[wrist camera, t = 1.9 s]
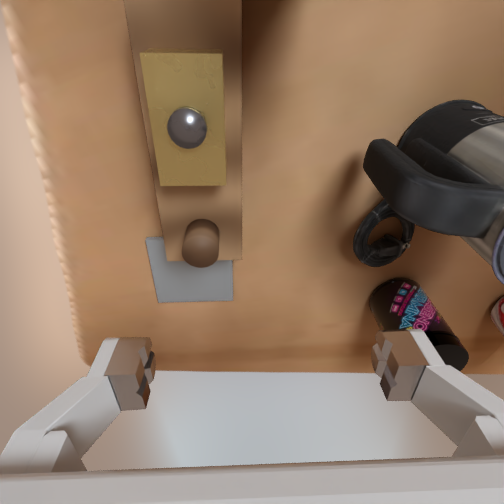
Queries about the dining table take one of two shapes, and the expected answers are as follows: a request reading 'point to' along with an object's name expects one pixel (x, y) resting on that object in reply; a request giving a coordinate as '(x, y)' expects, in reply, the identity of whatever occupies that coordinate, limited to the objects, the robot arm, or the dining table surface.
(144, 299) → the dining table surface
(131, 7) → the body
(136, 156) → the dining table surface
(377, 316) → the supplement container
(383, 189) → the milk frother
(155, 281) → the felt pad
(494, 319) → the soda can
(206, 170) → the lever cap
